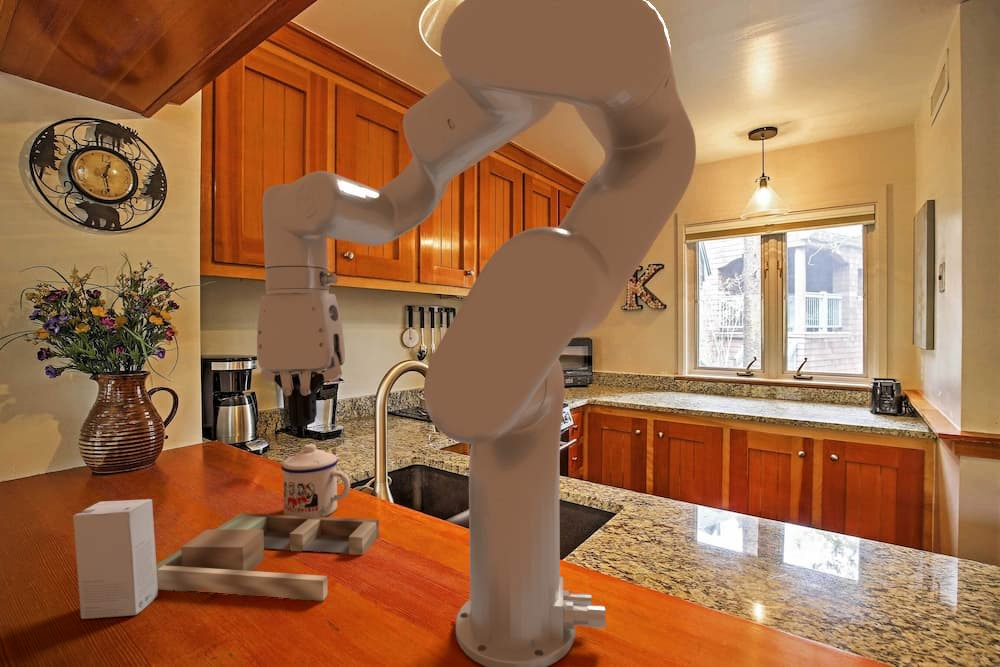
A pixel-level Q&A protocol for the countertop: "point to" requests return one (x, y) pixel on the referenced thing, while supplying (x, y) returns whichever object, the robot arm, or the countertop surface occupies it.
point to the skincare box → (115, 558)
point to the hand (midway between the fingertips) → (303, 424)
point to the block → (225, 550)
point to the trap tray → (279, 536)
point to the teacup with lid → (312, 483)
